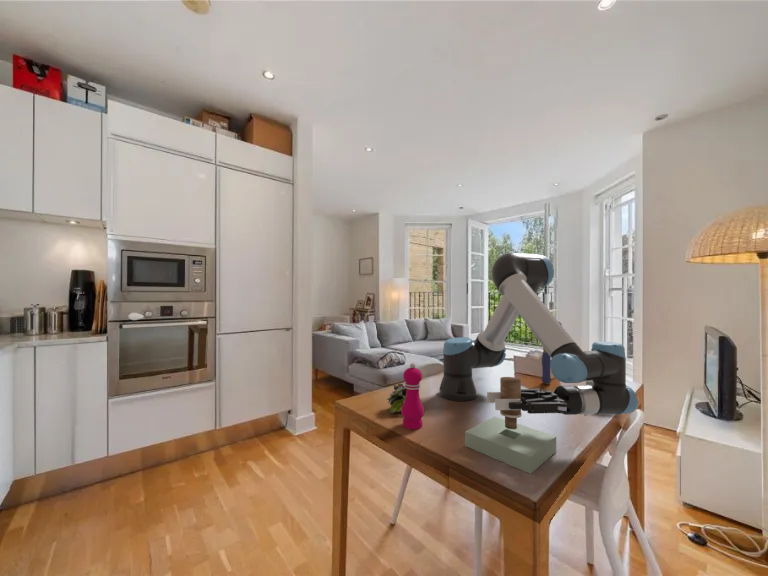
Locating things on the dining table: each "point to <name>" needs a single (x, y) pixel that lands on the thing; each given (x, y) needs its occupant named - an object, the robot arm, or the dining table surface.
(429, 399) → the dining table surface
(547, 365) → the rubber mallet
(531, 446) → the sage board
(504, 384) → the walnut peg
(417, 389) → the pepper mill
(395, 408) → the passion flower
